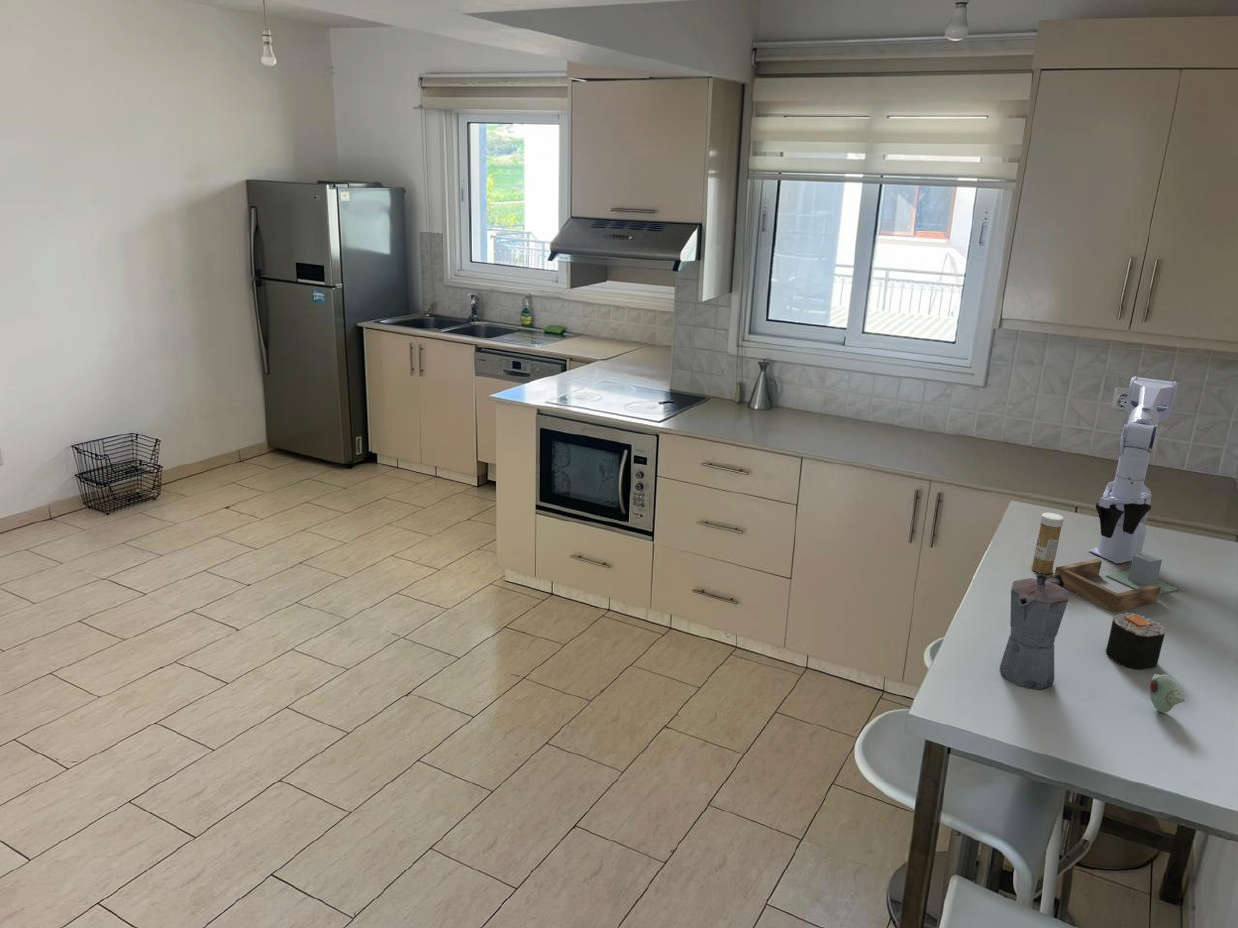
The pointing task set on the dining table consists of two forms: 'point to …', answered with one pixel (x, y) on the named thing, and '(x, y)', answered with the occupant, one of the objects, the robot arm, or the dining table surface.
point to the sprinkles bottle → (1047, 543)
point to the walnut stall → (1099, 594)
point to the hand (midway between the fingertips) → (1117, 534)
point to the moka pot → (1033, 631)
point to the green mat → (1123, 579)
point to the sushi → (1135, 641)
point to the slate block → (1144, 569)
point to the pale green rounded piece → (1164, 693)
